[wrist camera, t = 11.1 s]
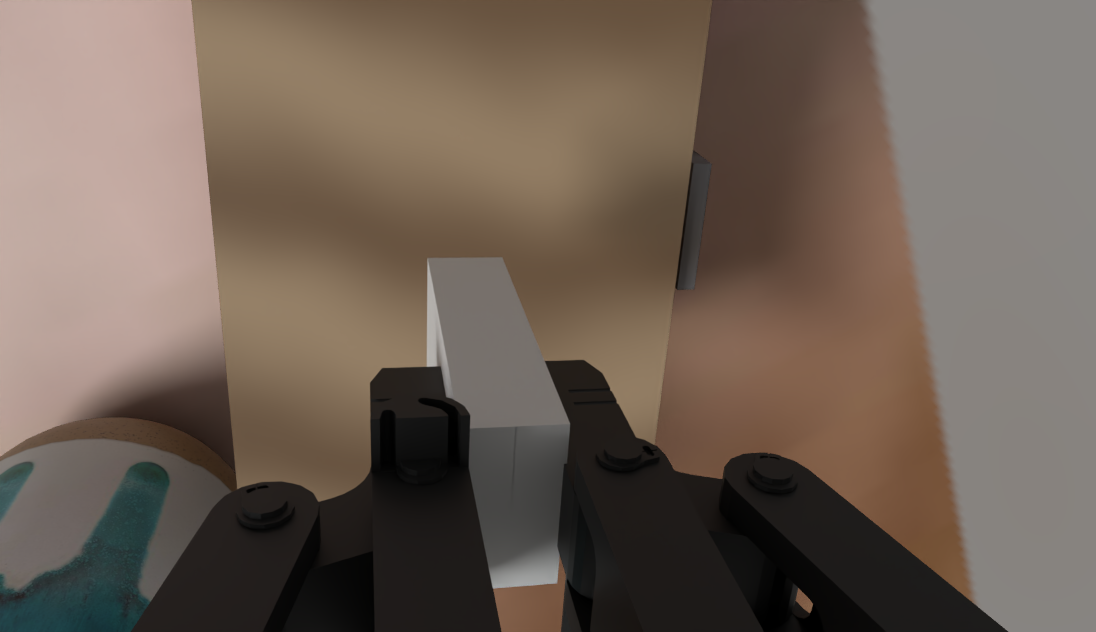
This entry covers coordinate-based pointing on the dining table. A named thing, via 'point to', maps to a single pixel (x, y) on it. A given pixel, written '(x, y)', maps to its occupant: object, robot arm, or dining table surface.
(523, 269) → the lid
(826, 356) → the dining table surface
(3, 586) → the vase
